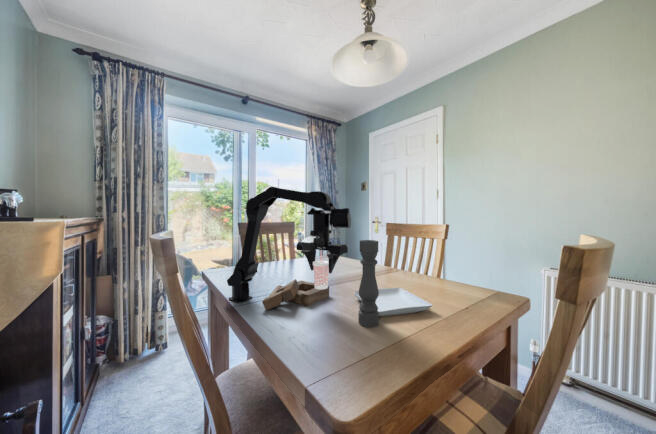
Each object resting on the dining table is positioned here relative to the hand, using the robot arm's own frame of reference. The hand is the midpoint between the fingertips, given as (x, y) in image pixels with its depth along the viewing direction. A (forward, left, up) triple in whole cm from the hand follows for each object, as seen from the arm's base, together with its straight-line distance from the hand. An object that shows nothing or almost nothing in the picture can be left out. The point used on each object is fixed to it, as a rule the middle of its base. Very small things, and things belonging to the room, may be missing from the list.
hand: (321, 271), depth 87 cm
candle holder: (+19, -1, -13) cm, 23 cm away
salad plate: (+19, +16, -13) cm, 28 cm away
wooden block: (-10, -11, -9) cm, 17 cm away
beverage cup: (0, 0, -6) cm, 6 cm away
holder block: (-12, +5, -13) cm, 18 cm away
